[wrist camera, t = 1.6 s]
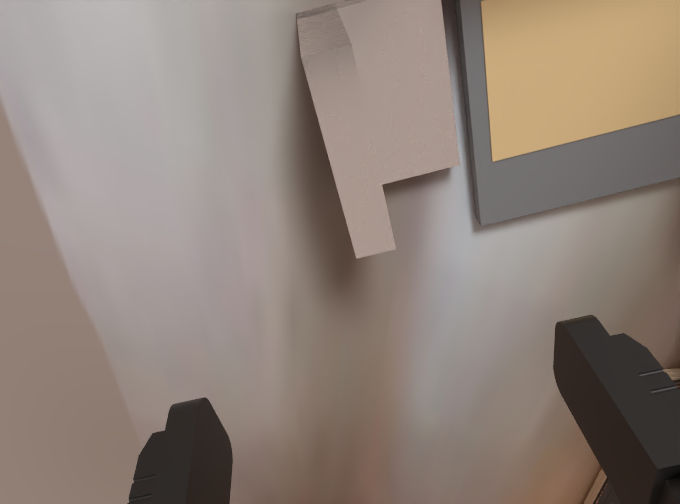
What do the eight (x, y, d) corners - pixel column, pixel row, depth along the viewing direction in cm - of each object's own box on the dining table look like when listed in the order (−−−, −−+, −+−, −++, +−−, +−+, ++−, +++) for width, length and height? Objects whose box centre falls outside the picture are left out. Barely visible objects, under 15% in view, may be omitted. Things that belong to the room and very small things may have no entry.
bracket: (296, 13, 27) (300, 57, 20) (431, -25, 26) (480, 8, 20) (341, 182, 33) (356, 258, 26) (453, 154, 32) (496, 224, 26)
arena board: (812, -263, 22) (834, -269, 21) (722, 157, 34) (734, 165, 33) (439, -154, 23) (446, -155, 22) (476, 218, 35) (481, 227, 34)
